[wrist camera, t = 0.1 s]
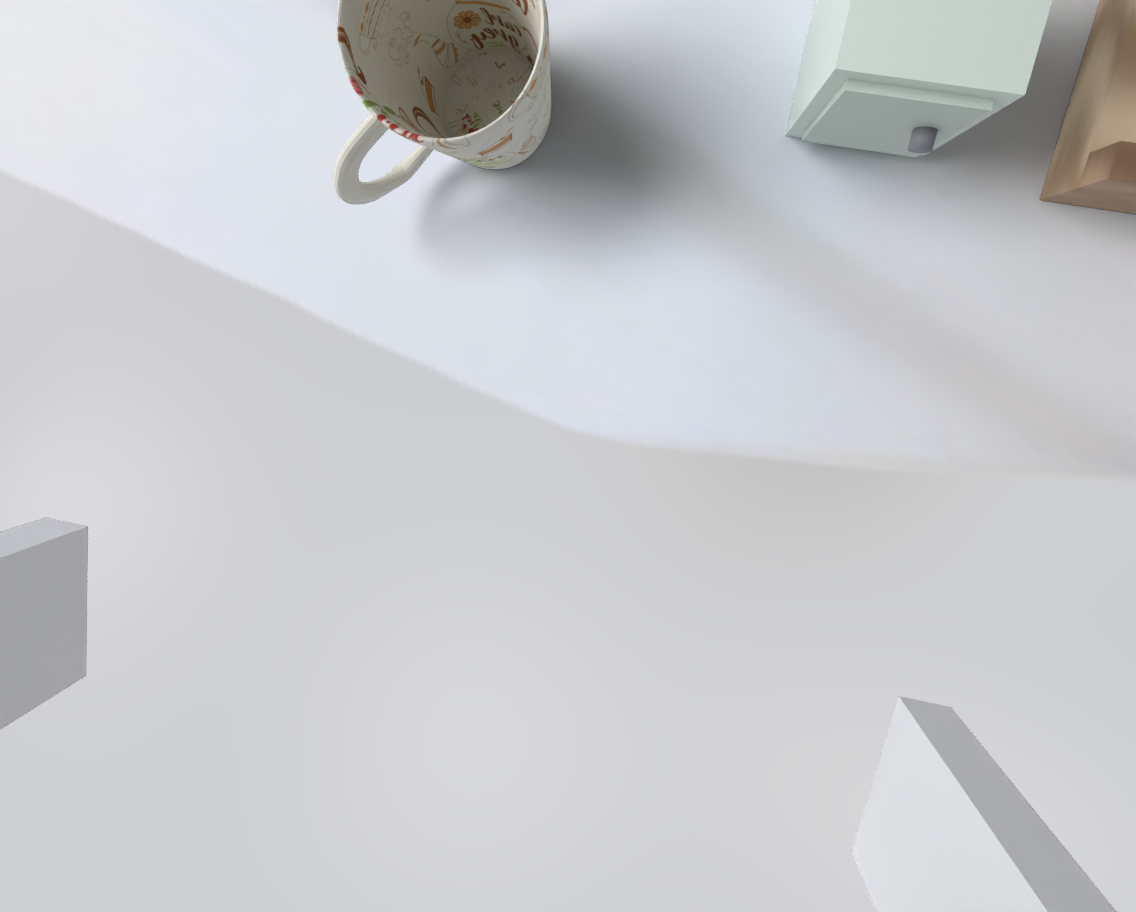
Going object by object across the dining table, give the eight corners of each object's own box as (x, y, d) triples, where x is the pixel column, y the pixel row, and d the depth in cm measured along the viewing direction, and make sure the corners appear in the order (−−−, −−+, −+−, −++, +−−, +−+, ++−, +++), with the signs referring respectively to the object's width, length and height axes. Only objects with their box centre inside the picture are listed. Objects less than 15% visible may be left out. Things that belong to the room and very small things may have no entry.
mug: (606, 112, 34) (591, 27, 25) (440, 279, 37) (367, 262, 27) (499, -14, 34) (440, -151, 24) (338, 166, 36) (226, 107, 27)
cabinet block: (818, -16, 32) (884, -145, 23) (964, 2, 32) (1087, -121, 23) (779, 160, 34) (827, 102, 25) (917, 181, 33) (1015, 129, 25)
